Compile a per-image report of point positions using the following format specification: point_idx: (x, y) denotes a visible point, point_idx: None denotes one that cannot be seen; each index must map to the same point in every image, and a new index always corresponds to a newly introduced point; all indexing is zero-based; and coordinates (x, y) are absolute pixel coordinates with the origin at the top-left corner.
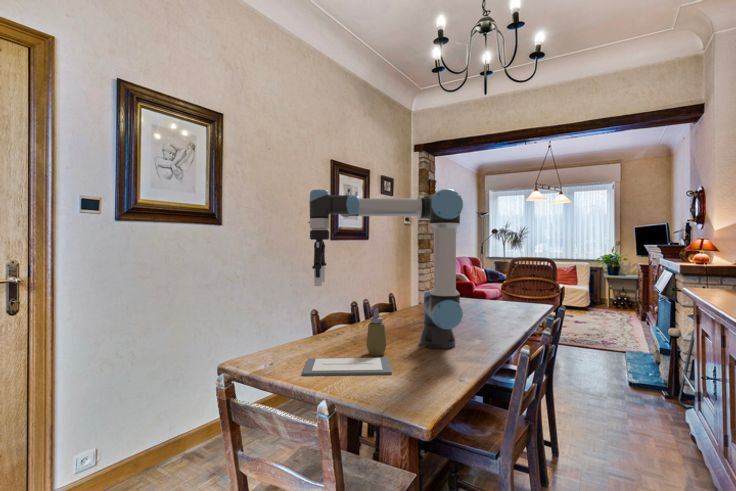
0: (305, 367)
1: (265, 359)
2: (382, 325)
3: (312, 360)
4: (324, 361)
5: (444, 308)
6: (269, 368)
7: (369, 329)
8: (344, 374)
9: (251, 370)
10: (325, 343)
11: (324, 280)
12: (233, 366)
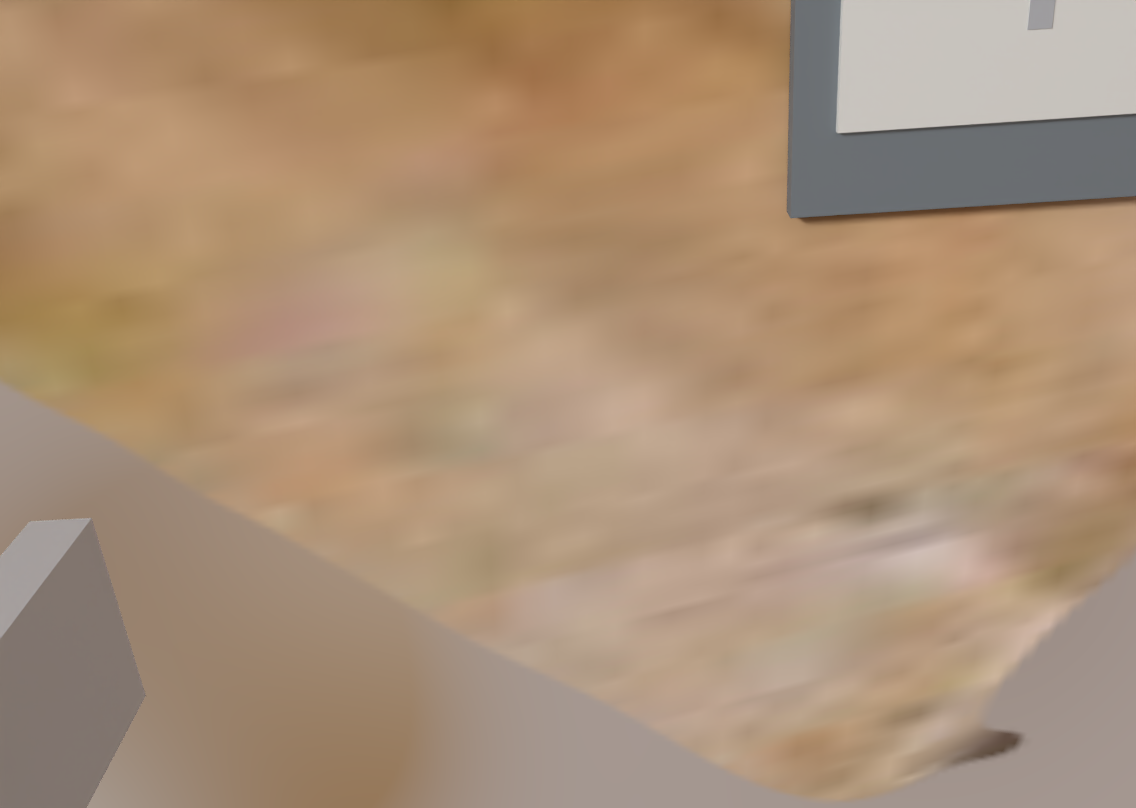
0: (1084, 190)
1: (735, 583)
2: None
3: (869, 161)
4: (946, 20)
5: None
6: (983, 495)
7: None
8: None
9: (1012, 607)
10: (135, 130)
11: (74, 551)
12: (898, 744)
